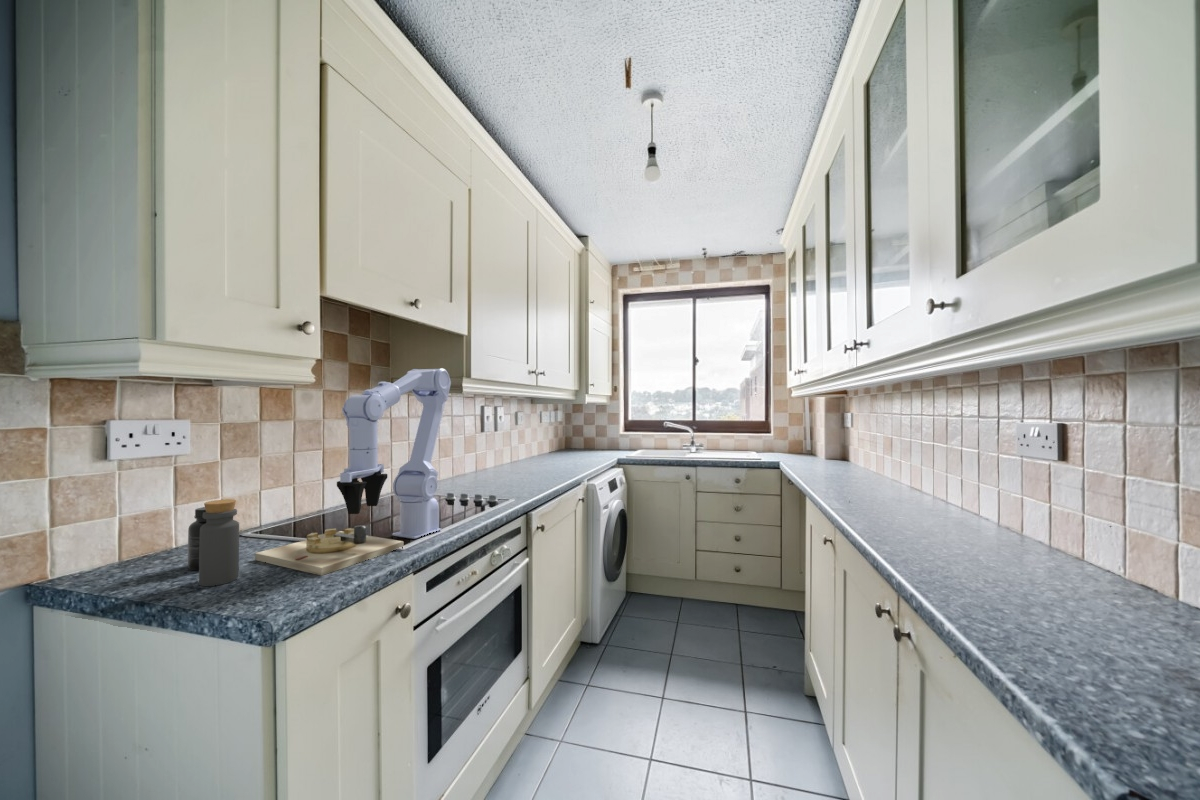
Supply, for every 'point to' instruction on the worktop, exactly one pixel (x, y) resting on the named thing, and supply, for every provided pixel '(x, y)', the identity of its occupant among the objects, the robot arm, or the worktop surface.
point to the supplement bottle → (195, 539)
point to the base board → (326, 555)
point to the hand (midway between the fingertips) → (363, 509)
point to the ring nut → (336, 540)
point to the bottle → (219, 544)
